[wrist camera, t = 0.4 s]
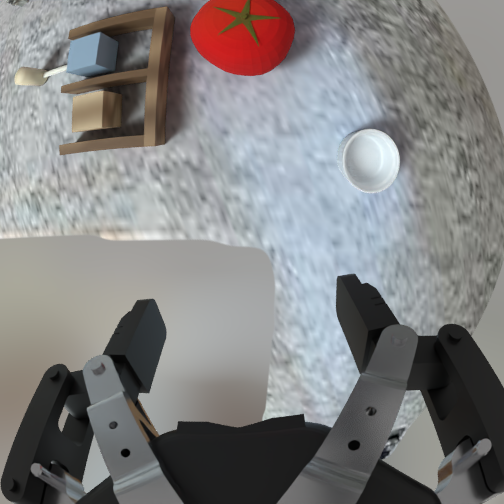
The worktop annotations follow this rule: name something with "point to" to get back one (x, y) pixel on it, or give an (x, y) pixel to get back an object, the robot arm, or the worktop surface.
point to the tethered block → (77, 60)
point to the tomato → (243, 35)
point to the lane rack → (132, 76)
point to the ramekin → (369, 160)
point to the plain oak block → (96, 111)
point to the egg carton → (17, 2)
